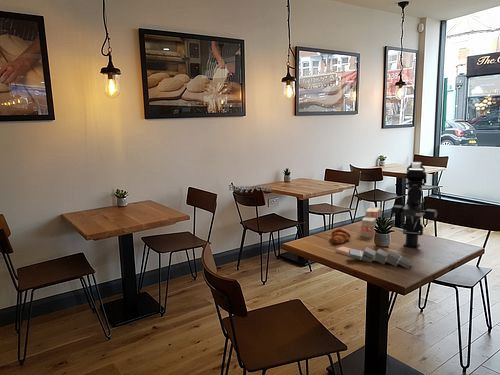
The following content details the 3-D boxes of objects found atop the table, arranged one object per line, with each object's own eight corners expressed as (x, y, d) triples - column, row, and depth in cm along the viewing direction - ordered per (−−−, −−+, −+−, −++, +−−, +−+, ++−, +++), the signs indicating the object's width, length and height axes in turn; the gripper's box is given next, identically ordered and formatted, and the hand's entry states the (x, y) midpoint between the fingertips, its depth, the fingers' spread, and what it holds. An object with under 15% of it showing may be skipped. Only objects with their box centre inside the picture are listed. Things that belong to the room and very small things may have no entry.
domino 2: (370, 256, 177) (348, 251, 179) (371, 253, 177) (349, 248, 178) (371, 262, 173) (349, 257, 174) (372, 259, 172) (350, 253, 173)
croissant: (339, 239, 217) (333, 226, 218) (356, 233, 213) (349, 220, 213) (330, 250, 198) (323, 236, 199) (347, 243, 194) (340, 229, 194)
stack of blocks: (372, 237, 208) (373, 215, 205) (360, 236, 211) (361, 214, 208) (380, 227, 226) (381, 207, 224) (369, 226, 229) (370, 206, 227)
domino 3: (385, 260, 174) (365, 250, 178) (387, 256, 174) (366, 246, 177) (384, 264, 170) (362, 254, 173) (385, 261, 169) (364, 250, 173)
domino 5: (410, 265, 168) (389, 253, 173) (412, 261, 168) (390, 250, 172) (408, 269, 164) (386, 257, 169) (410, 265, 163) (388, 253, 168)
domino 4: (398, 262, 172) (377, 251, 176) (400, 259, 171) (379, 248, 175) (396, 266, 167) (374, 255, 171) (398, 263, 166) (376, 251, 171)
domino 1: (367, 257, 180) (342, 249, 190) (367, 253, 179) (342, 246, 190) (360, 260, 176) (335, 252, 187) (360, 256, 176) (336, 248, 187)
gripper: (387, 197, 173) (386, 230, 176) (432, 201, 162) (430, 237, 165) (395, 193, 182) (393, 225, 184) (438, 197, 170) (436, 231, 173)
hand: (412, 229), depth 176 cm, fingers closed
